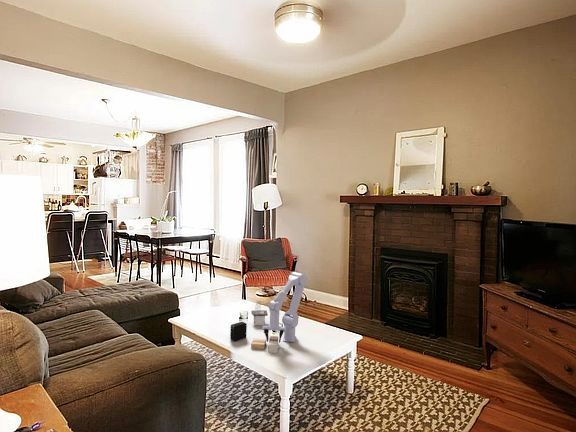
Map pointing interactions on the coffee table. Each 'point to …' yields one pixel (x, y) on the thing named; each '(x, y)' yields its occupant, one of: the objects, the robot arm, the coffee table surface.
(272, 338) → the walnut cube
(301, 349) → the coffee table surface
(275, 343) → the grey cube
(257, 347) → the oak base
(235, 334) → the electronic device
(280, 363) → the coffee table surface
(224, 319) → the coffee table surface
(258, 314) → the oil diffuser
